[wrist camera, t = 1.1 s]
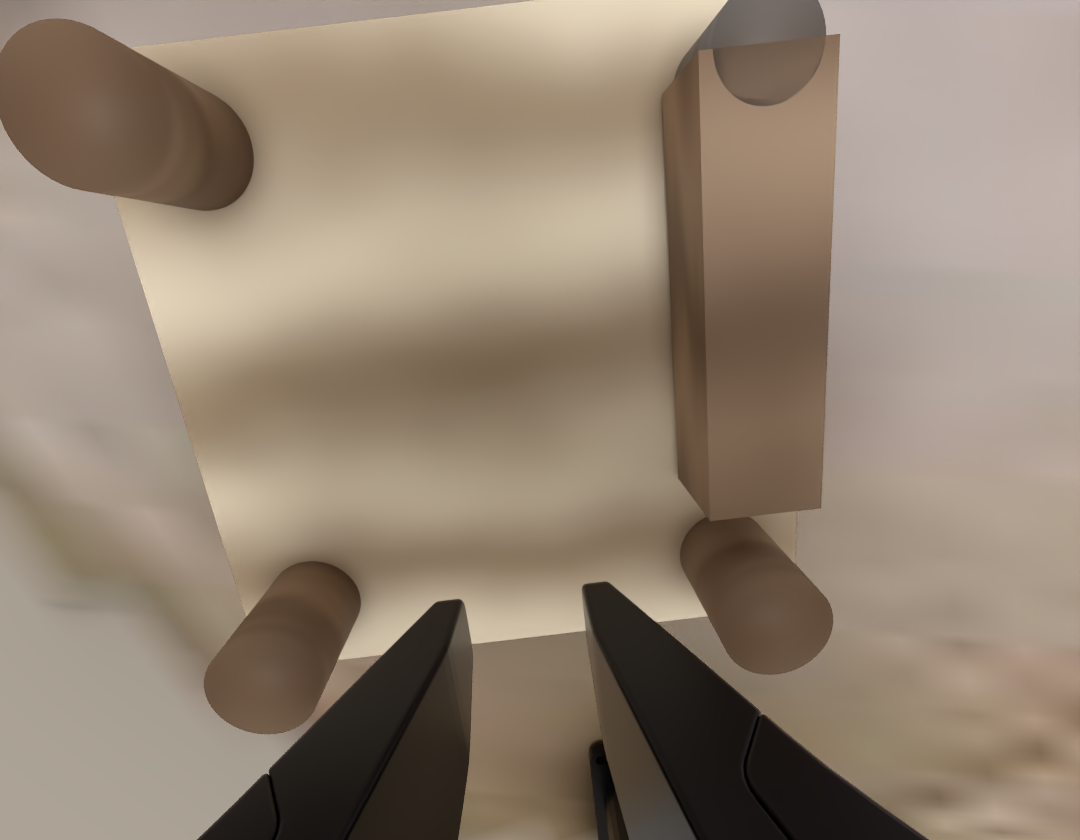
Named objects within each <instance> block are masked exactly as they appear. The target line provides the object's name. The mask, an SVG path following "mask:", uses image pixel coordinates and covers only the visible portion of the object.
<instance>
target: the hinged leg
mask: <svg viewBox="0 0 1080 840" xmlns="http://www.w3.org/2000/svg"><path fill="white" fill-rule="evenodd" d="M839 46H840V34H836V35H827V36H826V26H825V19H824V15H823V11H822V9H821V6H820V4H819V2H818V0H728V1H727V2H726V4H725V5H724V6H723V7H722V9H721V10H720V11H719V13H718V14H717V15H716V16H715V18H714V19H713V20H712V21H711V23H710V24H709V25H708V27H707V28H706V29H705V30H704V32H703V33H702V34H701V36H700V37H699V38H698V39H697V41H696V42H695V43H694V45H693V46H692V47H691V48H690V50H689V51H688V52H687V53H686V55H685V56H684V58H683V59H682V61H681V63H680V65H679V67H678V69H677V72H676V75H675V79H674V81H673V82H672V83H671V84H670V86H669V87H668V88H667V89H666V90H665V92H664V93H663V94H662V105H663V129H664V152H665V176H666V200H667V224H668V247H669V271H670V295H671V319H672V342H673V366H674V390H675V414H676V437H677V461H678V479H679V480H680V481H681V483H682V484H683V486H684V487H685V488H686V490H687V491H688V492H689V494H690V495H691V496H692V498H693V499H694V500H695V502H696V503H697V504H698V506H699V507H700V508H701V510H702V511H703V512H704V514H705V515H706V517H707V518H708V519H709V521H717V520H725V519H734V518H742V517H751V516H759V515H767V514H776V513H784V512H793V511H801V510H810V509H818V508H821V495H822V470H823V445H824V420H825V395H826V370H827V345H828V320H829V295H830V270H831V245H832V221H833V196H834V171H835V146H836V121H837V96H838V71H839Z"/></svg>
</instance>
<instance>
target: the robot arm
mask: <svg viewBox="0 0 1080 840" xmlns="http://www.w3.org/2000/svg"><path fill="white" fill-rule="evenodd" d="M582 600H583V609H584V619H585V629H586V637H587V644H588V651H589V658H590V664H591V671H592V677H593V684H594V690H595V697H596V703H597V709H598V716H599V722H600V729H601V734H602V739H603V744H597V745H594V746H593V747H592V748H591V749H590V751H589V757H590V766H591V775H592V784H593V793H594V802H595V812H596V821H597V830H598V839H599V840H929V839H927V838H926V837H924V836H923V835H922V834H920V833H919V832H917V831H916V830H914V829H913V828H912V827H910V826H909V825H907V824H906V823H905V822H903V821H902V820H900V819H899V818H898V817H896V816H895V815H893V814H892V813H890V812H889V811H888V810H886V809H885V808H883V807H882V806H881V805H879V804H878V803H877V802H875V801H874V800H872V799H871V798H870V797H868V796H867V795H866V794H864V793H863V792H862V791H860V790H859V789H858V788H856V787H855V786H853V785H852V784H851V783H849V782H848V781H847V780H845V779H844V778H843V777H841V776H840V775H839V774H837V773H836V772H835V771H833V770H832V769H830V768H829V767H828V766H827V765H825V764H824V763H823V762H822V761H820V760H819V759H818V758H817V757H815V756H814V755H813V754H812V753H811V752H809V751H808V750H807V749H806V748H804V747H803V746H802V745H801V744H799V743H798V742H797V741H796V740H794V739H793V738H792V737H791V736H790V735H788V734H787V733H786V732H785V731H784V730H782V729H781V728H780V727H779V726H778V725H777V724H775V723H774V722H773V721H772V720H771V719H769V718H768V717H767V716H766V715H761V712H760V711H759V709H757V708H756V707H755V706H754V705H753V704H751V703H750V702H749V701H748V700H747V699H746V698H744V697H743V696H742V695H741V694H740V693H739V692H737V691H736V690H735V689H734V688H733V687H732V686H730V685H729V684H728V683H727V682H726V681H724V680H723V679H722V678H721V677H720V676H719V675H717V674H716V673H715V672H714V671H713V670H712V669H710V668H709V667H708V666H707V665H706V664H705V663H703V662H702V661H701V660H700V659H699V658H697V657H696V656H695V655H694V654H693V653H692V652H690V651H689V650H688V649H687V648H686V647H685V646H683V645H682V644H681V643H680V642H679V641H678V640H676V639H675V638H674V637H673V636H672V635H670V634H669V633H668V632H667V631H666V630H665V629H663V628H662V627H661V626H660V625H659V624H658V623H656V622H655V621H654V620H653V619H652V618H651V617H649V616H648V615H647V614H646V613H645V612H643V611H642V610H641V609H640V608H639V607H638V606H636V605H635V604H634V603H633V602H632V601H631V600H629V599H628V598H627V597H626V596H625V595H624V594H622V593H621V592H620V591H619V590H618V589H616V588H615V587H614V586H613V585H612V584H611V583H609V582H607V581H603V582H595V583H587V584H584V585H583V586H582ZM472 671H473V651H472V642H471V637H470V631H469V625H468V620H467V614H466V608H465V604H464V602H463V601H462V600H461V599H452V600H444V601H437V602H435V603H434V604H433V605H432V606H431V607H430V608H429V609H428V610H427V611H426V612H425V613H424V614H423V615H422V616H421V617H420V618H419V619H418V620H417V621H416V622H415V623H414V624H413V625H412V626H411V627H410V628H409V629H408V630H407V631H406V632H405V633H404V634H403V635H402V636H401V637H400V638H399V639H398V640H397V641H396V642H395V643H394V644H393V645H392V646H391V647H390V648H389V649H388V650H387V651H386V652H385V653H384V654H383V655H382V656H381V657H380V658H379V659H378V660H377V661H376V662H375V663H374V664H373V665H372V666H371V667H370V668H369V669H368V670H367V671H366V672H365V673H364V674H363V675H362V676H361V677H360V678H359V679H358V680H357V681H356V682H355V683H354V684H353V685H352V686H351V687H350V688H349V689H348V690H347V691H346V692H345V693H344V694H343V695H342V696H341V697H340V698H339V699H338V700H337V701H336V702H335V703H334V704H333V705H332V706H331V707H330V708H329V709H328V710H327V711H326V712H325V713H324V714H323V715H322V716H321V717H320V718H319V719H318V720H317V721H316V722H315V723H314V724H313V725H312V726H311V727H310V729H309V730H308V731H307V732H306V733H305V734H304V735H303V736H302V737H301V738H300V739H299V740H298V741H297V742H296V743H295V744H294V745H293V746H292V747H291V748H290V749H289V750H288V751H287V752H286V753H285V754H284V755H283V756H282V757H281V758H280V759H279V760H278V761H277V762H276V763H275V764H274V765H273V766H272V767H271V768H270V769H269V775H268V774H264V775H263V776H261V778H259V779H258V780H257V782H255V784H253V786H251V788H249V790H247V791H246V792H245V794H244V795H243V796H242V797H240V798H239V800H238V801H237V802H236V803H234V805H232V807H231V808H229V809H228V810H227V811H226V812H225V813H224V814H223V815H222V816H221V817H220V818H219V819H218V820H217V821H216V822H215V823H214V824H213V825H212V826H211V827H210V828H209V829H208V830H207V831H205V833H203V834H202V836H200V837H199V838H198V839H197V840H458V836H459V829H460V822H461V816H462V809H463V802H464V795H465V788H466V781H467V774H468V765H469V752H470V731H471V701H472ZM599 756H602V757H599Z"/></svg>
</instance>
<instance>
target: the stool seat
mask: <svg viewBox="0 0 1080 840" xmlns="http://www.w3.org/2000/svg"><path fill="white" fill-rule="evenodd" d="M727 1H728V0H535V1H527V2H518V3H510V4H501V5H492V6H484V7H475V8H467V9H458V10H449V11H441V12H432V13H423V14H415V15H406V16H398V17H389V18H380V19H372V20H363V21H355V22H346V23H337V24H329V25H320V26H311V27H303V28H294V29H286V30H277V31H268V32H260V33H251V34H243V35H234V36H225V37H217V38H208V39H199V40H191V41H182V42H174V43H165V44H156V45H148V46H139V47H130V48H129V47H127V46H125V45H124V44H122V43H120V42H118V41H116V40H115V39H113V38H111V37H109V36H107V35H106V34H104V33H102V32H100V31H98V30H96V29H95V28H93V27H91V26H88V25H86V24H83V23H80V22H76V21H72V20H67V19H45V20H40V21H36V22H34V23H31V24H28V25H27V26H25V27H23V28H22V29H20V30H19V31H18V32H16V33H15V34H14V35H13V36H12V37H11V38H10V39H9V41H8V42H7V43H6V44H5V46H4V48H3V50H2V51H1V53H0V119H1V121H2V123H3V126H4V128H5V130H6V132H7V134H8V136H9V137H10V139H11V141H12V142H13V144H14V145H15V146H16V148H17V149H18V150H19V152H20V153H21V154H22V155H23V156H24V158H25V159H26V160H27V161H28V162H30V163H31V164H32V165H33V166H34V167H35V168H36V169H37V170H39V171H40V172H41V173H43V174H44V175H46V176H47V177H49V178H50V179H52V180H54V181H56V182H58V183H60V184H62V185H65V186H68V187H71V188H74V189H79V190H83V191H89V192H95V193H101V194H106V195H112V196H114V198H115V201H116V204H117V207H118V210H119V213H120V217H121V220H122V223H123V226H124V229H125V233H126V236H127V239H128V242H129V245H130V249H131V252H132V255H133V258H134V261H135V264H136V268H137V271H138V274H139V277H140V280H141V284H142V287H143V290H144V293H145V296H146V300H147V303H148V306H149V309H150V312H151V315H152V319H153V322H154V325H155V328H156V331H157V335H158V338H159V341H160V344H161V347H162V351H163V354H164V357H165V360H166V363H167V366H168V370H169V373H170V376H171V379H172V382H173V386H174V389H175V392H176V395H177V398H178V402H179V405H180V408H181V411H182V414H183V417H184V421H185V424H186V427H187V430H188V433H189V437H190V440H191V443H192V446H193V449H194V453H195V456H196V459H197V462H198V465H199V468H200V472H201V475H202V478H203V481H204V484H205V488H206V491H207V494H208V497H209V500H210V504H211V507H212V510H213V513H214V516H215V519H216V523H217V526H218V529H219V532H220V535H221V539H222V542H223V545H224V548H225V551H226V555H227V558H228V561H229V564H230V567H231V570H232V574H233V577H234V580H235V583H236V586H237V590H238V593H239V596H240V599H241V602H242V606H243V609H244V612H245V615H246V618H245V619H244V621H243V622H242V623H241V624H240V626H239V627H238V628H237V630H236V631H235V632H234V633H233V635H232V636H231V637H230V639H229V640H228V641H227V642H226V644H225V645H224V646H223V647H222V649H221V650H220V651H219V653H218V654H217V655H216V656H215V658H214V659H213V660H212V662H211V663H210V665H209V666H208V668H207V671H206V673H205V677H204V690H205V694H206V697H207V699H208V702H209V704H210V705H211V707H212V708H213V709H214V711H215V712H216V713H217V714H218V715H219V716H220V717H221V718H222V719H224V720H225V721H226V722H228V723H229V724H231V725H233V726H235V727H237V728H239V729H242V730H245V731H248V732H252V733H257V734H277V733H283V732H286V731H290V730H292V729H294V728H296V727H298V726H300V725H301V724H303V723H304V722H305V721H306V720H307V719H308V718H309V717H310V716H311V714H312V713H313V712H314V710H315V708H316V705H317V703H318V701H319V699H320V697H321V695H322V693H323V690H324V688H325V686H326V684H327V682H328V680H329V677H330V675H331V673H332V671H333V669H334V667H335V665H336V662H337V660H343V659H352V658H360V657H368V656H377V655H383V654H384V653H385V652H386V651H387V650H388V649H389V648H390V647H391V646H392V645H393V644H394V643H395V642H396V641H397V640H398V639H399V638H400V637H401V636H402V635H403V634H404V633H405V632H406V631H407V630H408V629H409V628H410V627H411V626H412V625H413V624H414V623H415V622H416V621H417V620H418V619H419V618H420V617H421V616H422V615H423V614H424V613H425V612H426V611H427V610H428V609H429V608H430V607H431V606H432V605H433V604H434V603H435V602H437V601H444V600H452V599H461V600H462V601H463V602H464V604H465V608H466V614H467V620H468V625H469V631H470V637H471V642H472V644H478V643H486V642H495V641H503V640H512V639H520V638H528V637H537V636H545V635H554V634H562V633H571V632H579V631H586V629H585V619H584V609H583V600H582V586H583V585H584V584H587V583H595V582H603V581H607V582H609V583H611V584H612V585H613V586H614V587H615V588H616V589H618V590H619V591H620V592H621V593H622V594H624V595H625V596H626V597H627V598H628V599H629V600H631V601H632V602H633V603H634V604H635V605H636V606H638V607H639V608H640V609H641V610H642V611H643V612H645V613H646V614H647V615H648V616H649V617H651V618H652V619H653V620H654V621H655V622H663V621H672V620H680V619H689V618H697V617H705V616H708V617H709V619H710V621H711V623H712V625H713V627H714V629H715V631H716V632H717V634H718V636H719V638H720V640H721V642H722V644H723V646H724V647H725V649H726V651H727V653H728V654H729V656H730V657H731V659H732V660H733V661H734V662H735V663H736V664H738V665H739V666H741V667H742V668H744V669H746V670H748V671H751V672H754V673H758V674H768V675H772V674H781V673H786V672H789V671H792V670H795V669H797V668H799V667H801V666H803V665H805V664H806V663H808V662H809V661H811V660H812V659H813V658H814V657H816V656H817V654H818V653H819V652H820V651H821V650H822V649H823V647H824V646H825V644H826V643H827V641H828V639H829V637H830V634H831V631H832V626H833V614H832V609H831V607H830V604H829V602H828V600H827V599H826V598H825V596H824V595H823V594H822V593H821V592H820V591H819V589H818V588H817V587H816V586H815V585H814V584H813V583H812V582H811V581H810V580H809V579H808V578H807V576H806V575H805V574H804V573H803V572H802V571H801V570H800V569H799V568H798V567H797V566H796V528H797V511H793V512H784V513H776V514H767V515H759V516H751V517H742V518H734V519H725V520H717V521H709V519H708V518H707V517H706V515H705V514H704V512H703V511H702V510H701V508H700V507H699V506H698V504H697V503H696V502H695V500H694V499H693V498H692V496H691V495H690V494H689V492H688V491H687V490H686V488H685V487H684V486H683V484H682V483H681V481H680V480H679V479H678V461H677V437H676V414H675V390H674V366H673V342H672V319H671V295H670V271H669V247H668V224H667V200H666V176H665V152H664V129H663V105H662V94H663V93H664V92H665V90H666V89H667V88H668V87H669V86H670V84H671V83H672V82H673V81H674V79H675V75H676V72H677V69H678V67H679V65H680V63H681V61H682V59H683V58H684V56H685V55H686V53H687V52H688V51H689V50H690V48H691V47H692V46H693V45H694V43H695V42H696V41H697V39H698V38H699V37H700V36H701V34H702V33H703V32H704V30H705V29H706V28H707V27H708V25H709V24H710V23H711V21H712V20H713V19H714V18H715V16H716V15H717V14H718V13H719V11H720V10H721V9H722V7H723V6H724V5H725V4H726V2H727Z"/></svg>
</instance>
